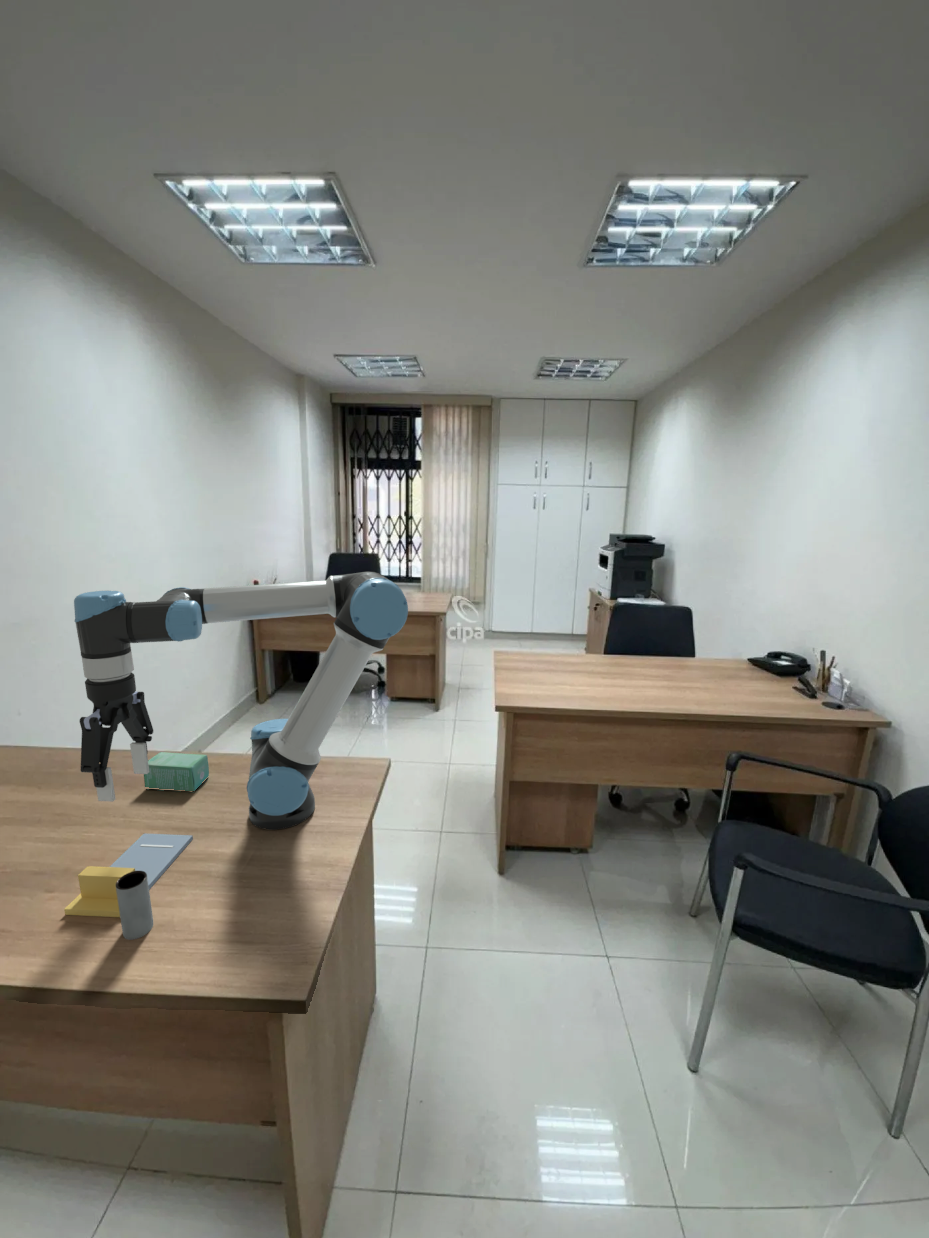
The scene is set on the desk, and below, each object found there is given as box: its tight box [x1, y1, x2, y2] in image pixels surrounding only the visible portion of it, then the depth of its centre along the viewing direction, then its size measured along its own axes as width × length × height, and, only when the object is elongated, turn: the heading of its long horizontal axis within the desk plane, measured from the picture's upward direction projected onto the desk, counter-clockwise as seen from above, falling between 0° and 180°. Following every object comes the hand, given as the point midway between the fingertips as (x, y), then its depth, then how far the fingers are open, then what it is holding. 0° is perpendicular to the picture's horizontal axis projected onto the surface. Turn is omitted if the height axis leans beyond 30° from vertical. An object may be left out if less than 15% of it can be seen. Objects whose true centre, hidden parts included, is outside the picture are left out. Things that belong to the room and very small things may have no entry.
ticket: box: [109, 833, 194, 890], centre depth 104 cm, size 11×16×1 cm
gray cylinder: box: [116, 871, 154, 941], centre depth 87 cm, size 4×4×10 cm
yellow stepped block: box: [63, 865, 135, 918], centre depth 93 cm, size 11×6×6 cm, turn 88°
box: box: [143, 751, 210, 792], centre depth 133 cm, size 7×14×8 cm, turn 87°
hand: (125, 785), depth 98 cm, fingers open, 9 cm apart
